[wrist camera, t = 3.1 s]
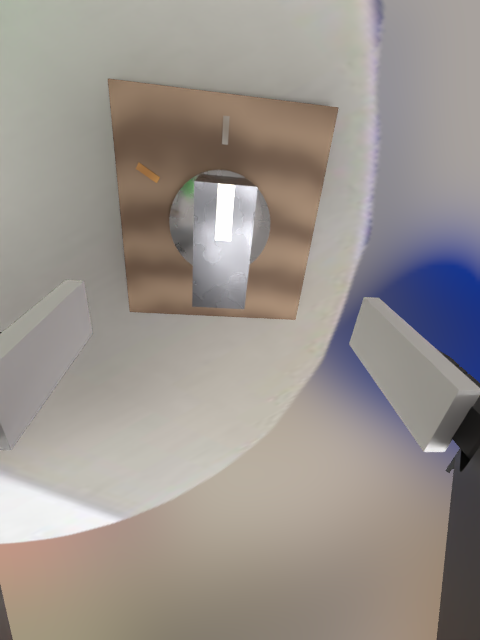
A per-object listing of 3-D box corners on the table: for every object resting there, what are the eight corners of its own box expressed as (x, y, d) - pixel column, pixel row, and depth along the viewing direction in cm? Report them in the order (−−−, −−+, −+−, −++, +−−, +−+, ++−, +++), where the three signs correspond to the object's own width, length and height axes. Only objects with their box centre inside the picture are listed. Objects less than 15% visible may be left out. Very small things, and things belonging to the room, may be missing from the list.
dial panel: (290, 309, 44) (295, 320, 41) (135, 301, 41) (129, 312, 39) (328, 111, 32) (339, 107, 30) (117, 85, 30) (107, 78, 27)
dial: (261, 272, 37) (279, 317, 27) (172, 266, 36) (154, 311, 26) (274, 174, 32) (302, 183, 22) (170, 164, 31) (147, 168, 21)
